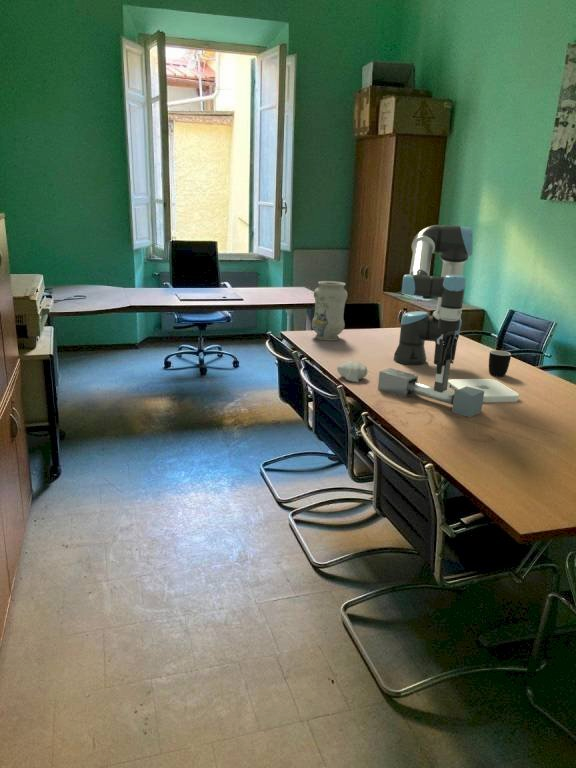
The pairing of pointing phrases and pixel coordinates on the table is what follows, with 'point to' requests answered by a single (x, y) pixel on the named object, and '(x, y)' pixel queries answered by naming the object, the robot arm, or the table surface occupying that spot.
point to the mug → (499, 362)
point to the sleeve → (396, 382)
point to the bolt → (435, 387)
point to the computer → (486, 389)
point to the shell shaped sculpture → (352, 370)
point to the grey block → (468, 401)
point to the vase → (329, 310)
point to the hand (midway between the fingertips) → (441, 380)
